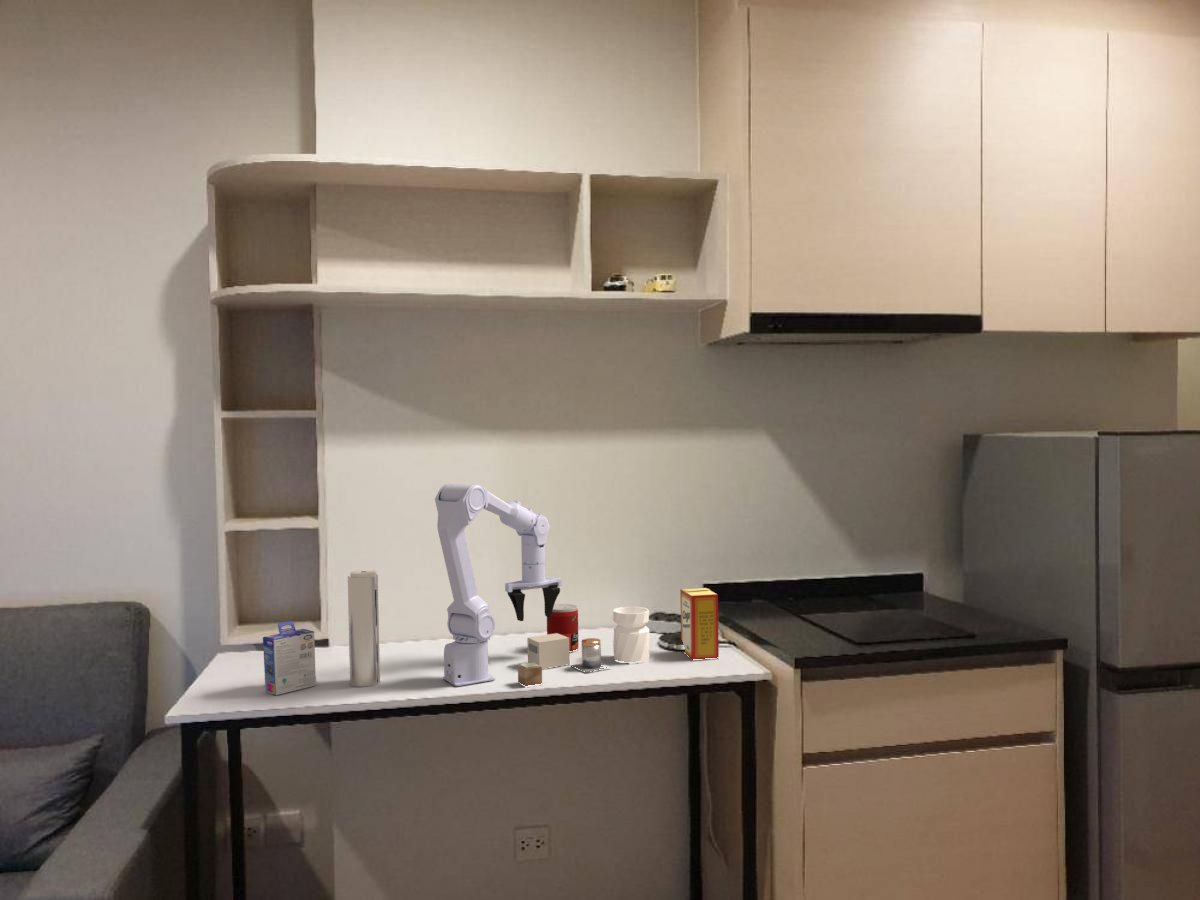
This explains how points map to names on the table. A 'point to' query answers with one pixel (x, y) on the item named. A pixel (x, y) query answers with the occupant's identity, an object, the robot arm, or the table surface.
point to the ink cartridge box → (289, 660)
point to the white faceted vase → (631, 634)
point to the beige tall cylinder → (363, 628)
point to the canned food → (564, 623)
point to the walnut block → (529, 674)
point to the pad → (586, 668)
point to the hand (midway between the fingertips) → (534, 618)
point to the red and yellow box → (699, 623)
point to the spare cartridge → (591, 653)
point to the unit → (548, 650)
